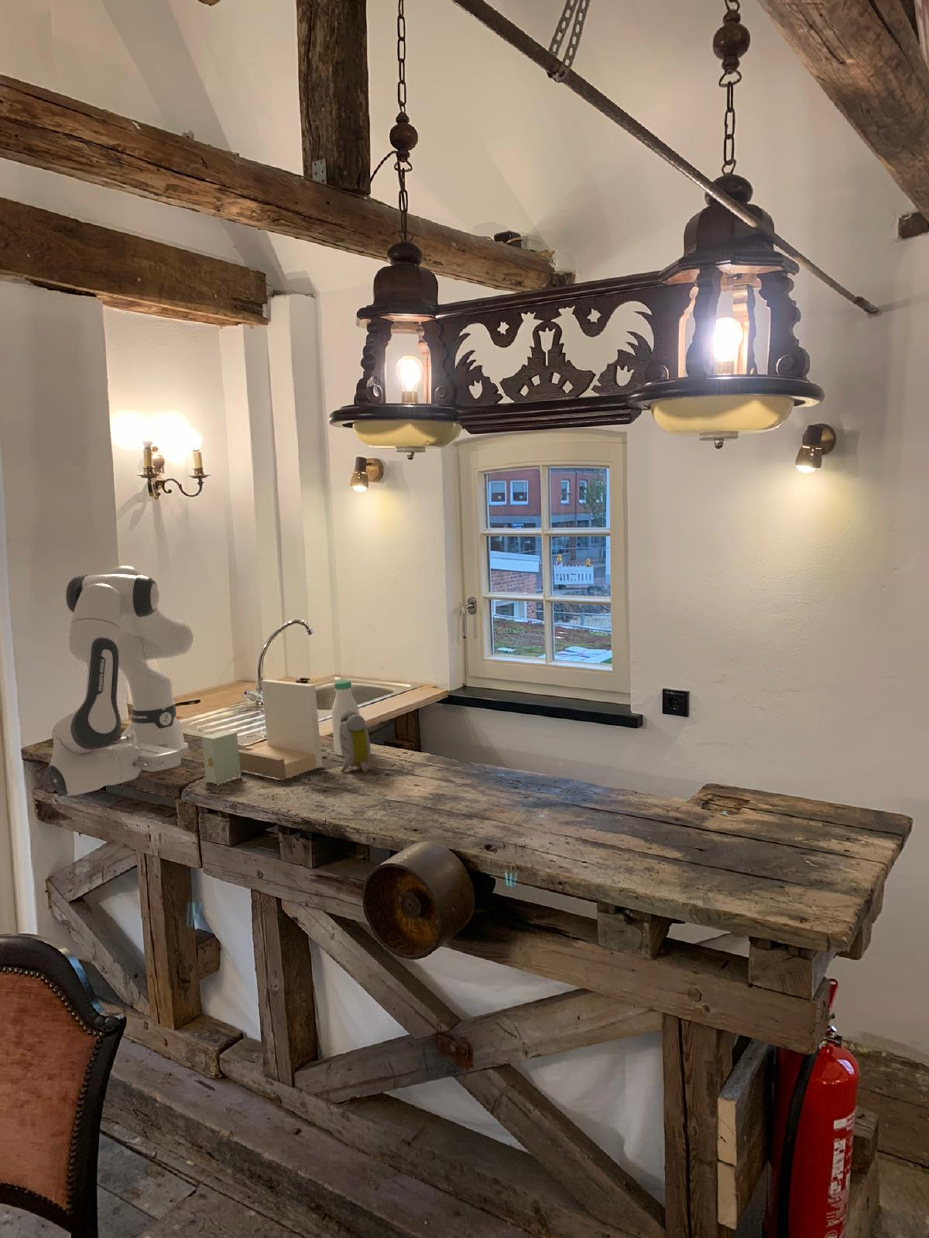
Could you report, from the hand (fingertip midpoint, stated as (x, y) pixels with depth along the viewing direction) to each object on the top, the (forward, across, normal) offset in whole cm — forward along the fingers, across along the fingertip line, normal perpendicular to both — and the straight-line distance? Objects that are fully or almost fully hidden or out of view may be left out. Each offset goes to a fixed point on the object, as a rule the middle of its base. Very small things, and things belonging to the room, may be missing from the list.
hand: (176, 748), depth 211 cm
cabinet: (+12, 0, +12) cm, 17 cm away
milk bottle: (+45, -10, +12) cm, 48 cm away
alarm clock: (+34, -24, +12) cm, 44 cm away
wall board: (+26, -4, +11) cm, 28 cm away
